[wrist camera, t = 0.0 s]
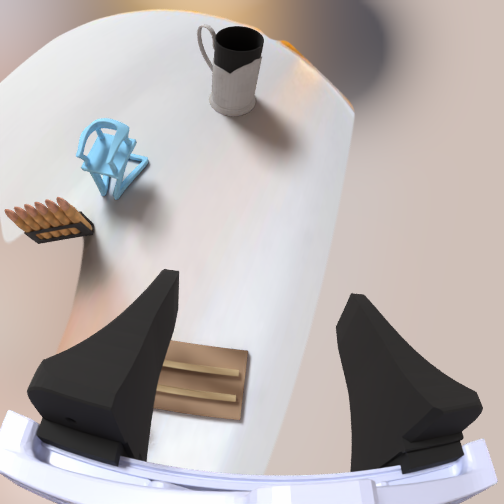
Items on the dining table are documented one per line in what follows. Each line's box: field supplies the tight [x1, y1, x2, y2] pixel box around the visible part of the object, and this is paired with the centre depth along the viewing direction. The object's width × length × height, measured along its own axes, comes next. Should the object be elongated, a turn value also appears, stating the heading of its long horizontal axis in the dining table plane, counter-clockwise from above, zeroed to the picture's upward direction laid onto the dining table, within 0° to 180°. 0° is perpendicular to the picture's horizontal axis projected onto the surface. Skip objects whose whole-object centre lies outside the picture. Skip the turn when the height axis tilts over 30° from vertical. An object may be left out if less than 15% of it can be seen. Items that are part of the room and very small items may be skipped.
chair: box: [76, 118, 148, 200], centre depth 42 cm, size 8×8×12 cm
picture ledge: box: [153, 340, 248, 420], centre depth 40 cm, size 10×14×2 cm
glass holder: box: [197, 24, 264, 116], centre depth 48 cm, size 9×14×15 cm, turn 46°
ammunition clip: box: [5, 197, 93, 244], centre depth 39 cm, size 11×2×12 cm, turn 100°
